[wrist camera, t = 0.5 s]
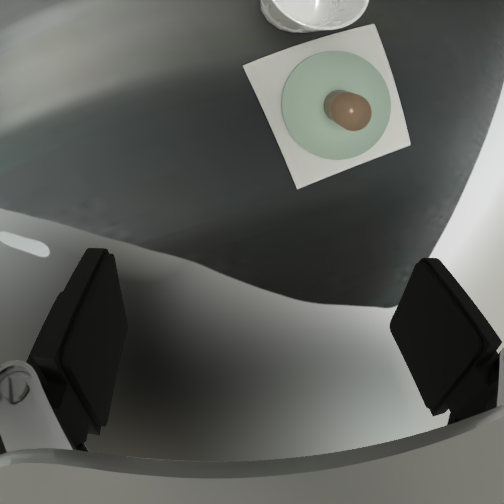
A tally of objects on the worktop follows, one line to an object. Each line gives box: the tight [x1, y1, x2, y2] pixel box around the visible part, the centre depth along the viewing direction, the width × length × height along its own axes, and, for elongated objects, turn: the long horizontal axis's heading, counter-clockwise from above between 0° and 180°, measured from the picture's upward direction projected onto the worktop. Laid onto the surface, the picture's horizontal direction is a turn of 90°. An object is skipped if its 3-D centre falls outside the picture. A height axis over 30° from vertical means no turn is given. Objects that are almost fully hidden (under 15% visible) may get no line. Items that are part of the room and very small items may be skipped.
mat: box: [243, 24, 411, 189], centre depth 31 cm, size 15×15×1 cm
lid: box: [281, 51, 391, 160], centre depth 29 cm, size 12×12×5 cm
